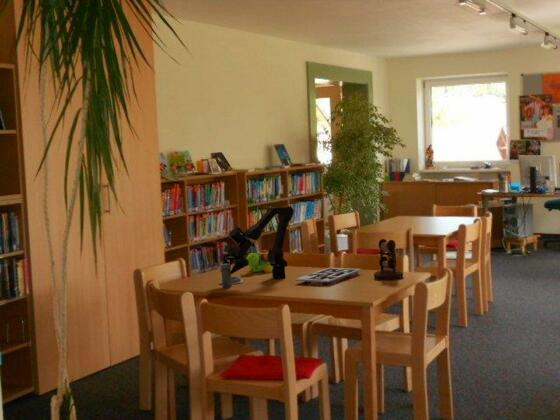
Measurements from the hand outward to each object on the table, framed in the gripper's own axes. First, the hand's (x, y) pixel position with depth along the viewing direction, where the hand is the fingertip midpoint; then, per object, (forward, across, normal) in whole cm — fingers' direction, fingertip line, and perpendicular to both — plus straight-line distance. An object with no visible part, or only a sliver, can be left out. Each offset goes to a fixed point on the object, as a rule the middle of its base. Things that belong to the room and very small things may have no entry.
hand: (225, 272), depth 405 cm
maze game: (-27, +27, +38) cm, 54 cm away
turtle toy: (-24, -27, +35) cm, 50 cm away
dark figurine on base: (-42, +50, +52) cm, 84 cm away
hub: (-2, -10, +12) cm, 16 cm away
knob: (+5, 0, +6) cm, 8 cm away
